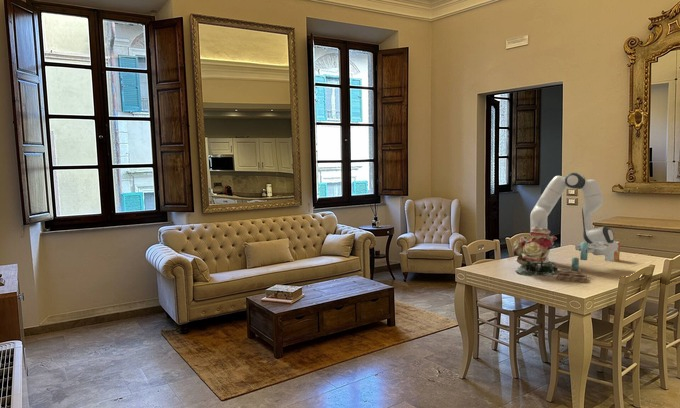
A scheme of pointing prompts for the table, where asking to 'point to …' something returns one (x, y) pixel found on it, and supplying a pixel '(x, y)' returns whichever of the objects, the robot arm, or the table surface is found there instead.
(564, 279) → the socket board
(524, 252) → the rose bouquet
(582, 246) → the dowel
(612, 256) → the small box
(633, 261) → the table surface
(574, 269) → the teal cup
